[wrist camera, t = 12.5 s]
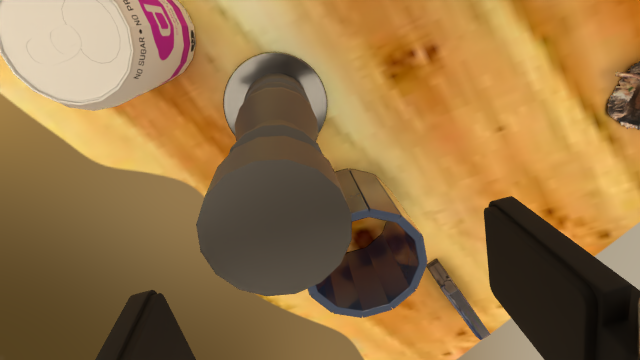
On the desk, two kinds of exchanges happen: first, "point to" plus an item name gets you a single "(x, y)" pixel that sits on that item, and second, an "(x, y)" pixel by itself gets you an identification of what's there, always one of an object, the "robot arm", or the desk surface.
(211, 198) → the candle holder
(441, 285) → the mini dv tape
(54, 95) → the supplement can
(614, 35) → the desk surface
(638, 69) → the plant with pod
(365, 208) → the crock
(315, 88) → the coaster
